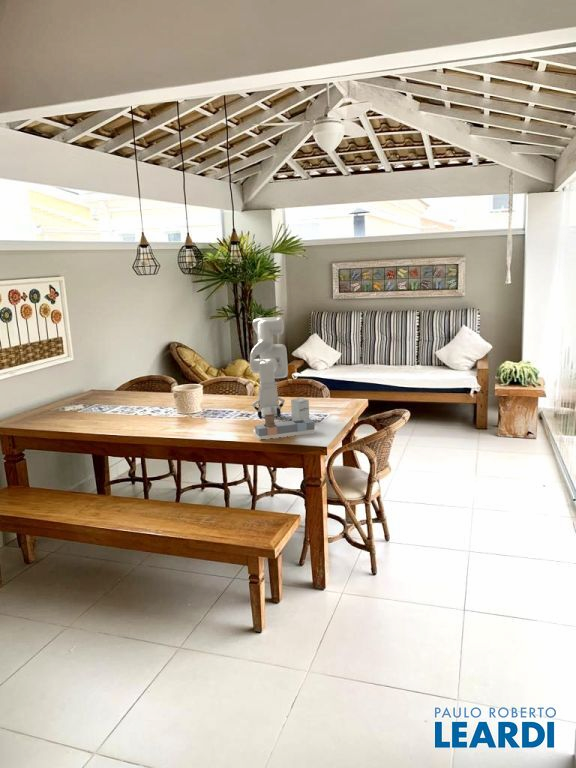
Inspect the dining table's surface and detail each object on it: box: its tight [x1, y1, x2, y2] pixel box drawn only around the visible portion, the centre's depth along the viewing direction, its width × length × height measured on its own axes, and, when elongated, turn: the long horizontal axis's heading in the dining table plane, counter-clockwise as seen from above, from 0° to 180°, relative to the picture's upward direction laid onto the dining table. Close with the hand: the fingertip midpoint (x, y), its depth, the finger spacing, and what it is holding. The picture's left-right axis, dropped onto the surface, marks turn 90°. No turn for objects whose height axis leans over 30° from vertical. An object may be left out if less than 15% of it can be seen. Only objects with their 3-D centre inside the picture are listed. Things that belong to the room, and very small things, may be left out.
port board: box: [252, 418, 316, 441], centre depth 315 cm, size 14×30×6 cm, turn 107°
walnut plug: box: [264, 413, 276, 427], centre depth 309 cm, size 4×4×10 cm
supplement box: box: [290, 397, 310, 421], centre depth 337 cm, size 7×7×13 cm
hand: (269, 417), depth 309 cm, fingers open, 9 cm apart
